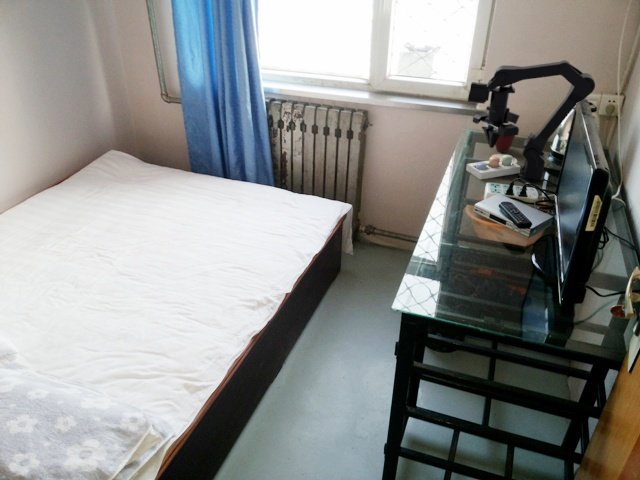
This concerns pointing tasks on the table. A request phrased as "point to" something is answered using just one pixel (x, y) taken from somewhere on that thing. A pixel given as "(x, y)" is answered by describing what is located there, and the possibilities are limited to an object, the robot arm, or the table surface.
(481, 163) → the slate button
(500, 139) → the mug
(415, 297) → the table surface
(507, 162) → the sage button
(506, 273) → the table surface
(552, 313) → the table surface
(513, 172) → the panel
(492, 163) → the terracotta button
